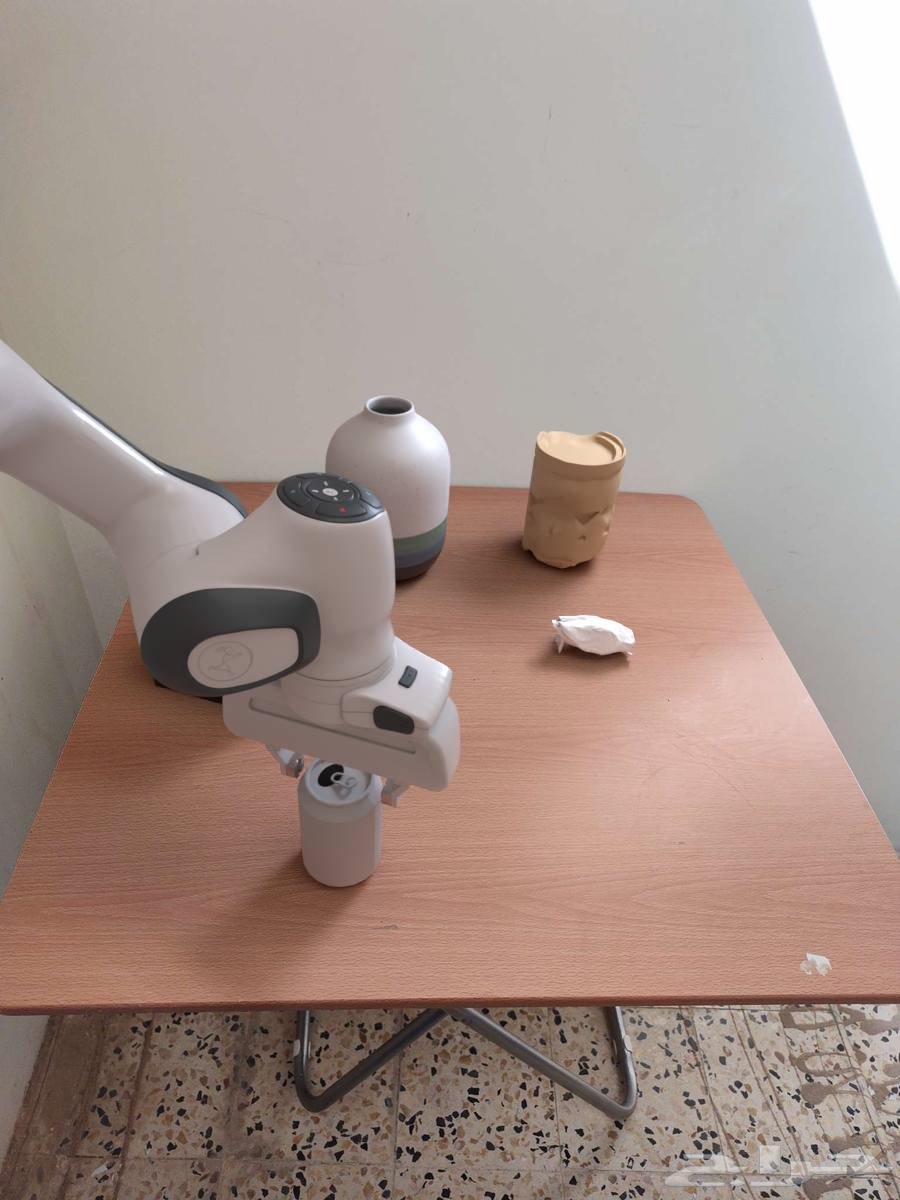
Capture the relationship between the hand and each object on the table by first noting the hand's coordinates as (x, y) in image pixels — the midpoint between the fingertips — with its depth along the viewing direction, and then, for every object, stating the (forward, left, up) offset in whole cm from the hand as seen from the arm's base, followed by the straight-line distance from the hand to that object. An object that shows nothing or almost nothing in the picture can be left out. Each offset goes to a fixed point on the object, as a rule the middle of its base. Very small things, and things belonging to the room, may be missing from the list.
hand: (342, 785), depth 71 cm
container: (+10, +61, -11) cm, 63 cm away
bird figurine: (+18, +40, -11) cm, 45 cm away
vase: (-14, +49, -11) cm, 52 cm away
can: (0, 0, -11) cm, 11 cm away
